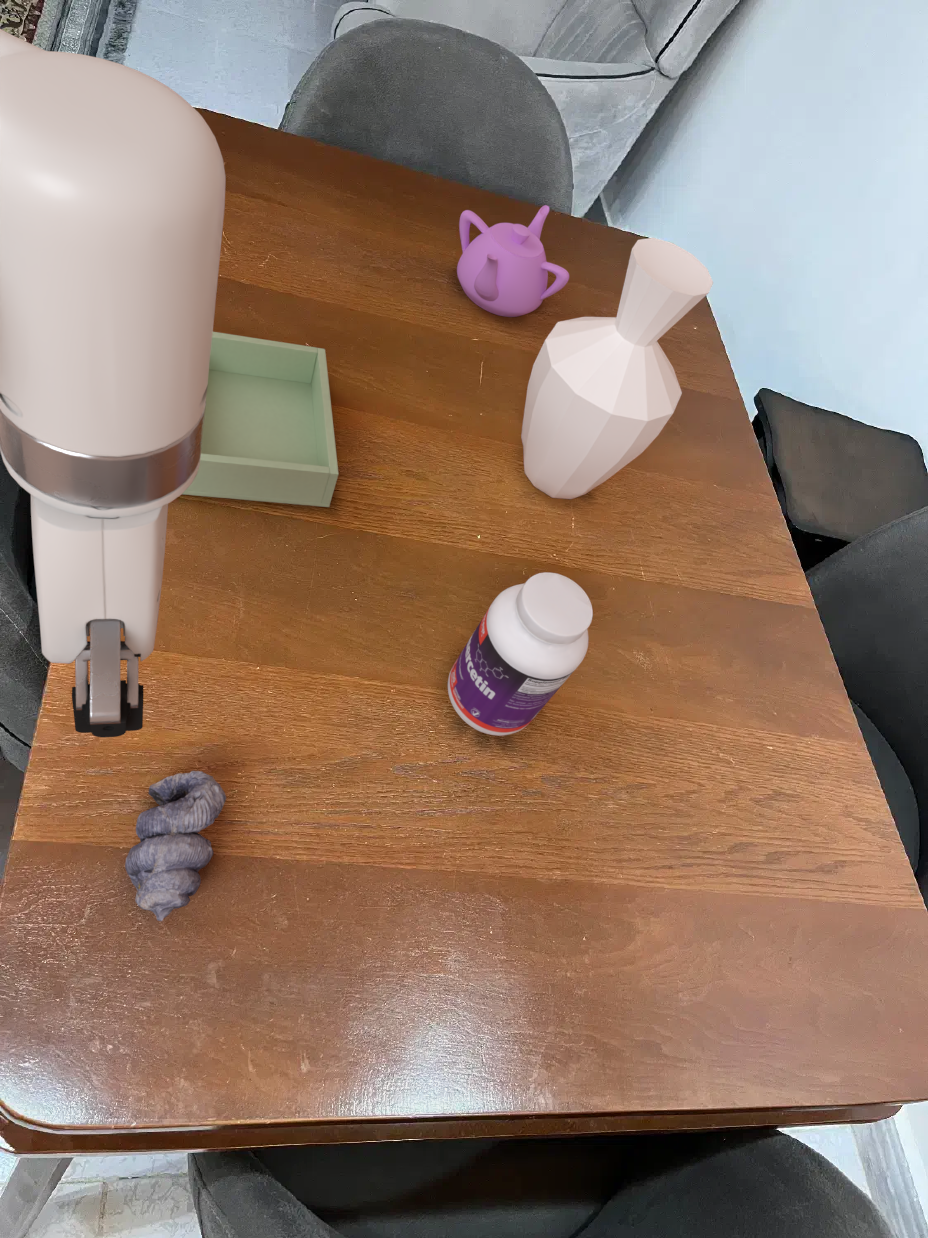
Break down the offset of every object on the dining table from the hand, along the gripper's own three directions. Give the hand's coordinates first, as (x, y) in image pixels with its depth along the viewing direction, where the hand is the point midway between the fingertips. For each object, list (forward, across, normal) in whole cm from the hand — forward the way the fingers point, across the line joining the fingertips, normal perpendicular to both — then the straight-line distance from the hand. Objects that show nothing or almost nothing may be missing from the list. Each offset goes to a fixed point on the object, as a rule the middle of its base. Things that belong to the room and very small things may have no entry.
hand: (110, 647), depth 46 cm
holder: (+15, -33, +12) cm, 38 cm away
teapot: (+16, -61, +44) cm, 77 cm away
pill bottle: (+16, -4, +29) cm, 33 cm away
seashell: (+16, +7, +4) cm, 17 cm away
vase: (+16, -31, +44) cm, 56 cm away
